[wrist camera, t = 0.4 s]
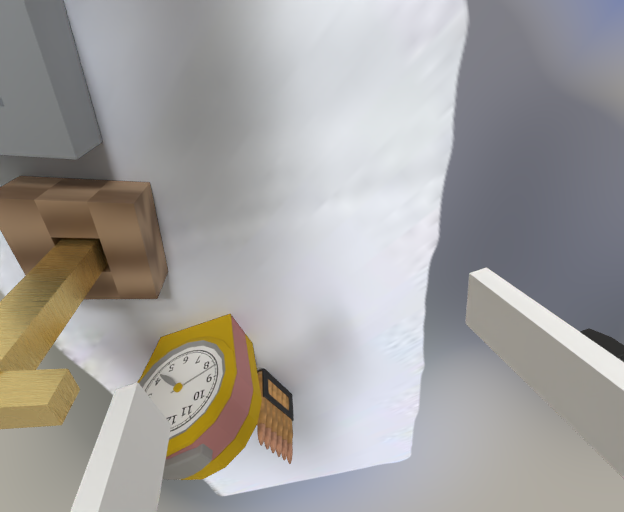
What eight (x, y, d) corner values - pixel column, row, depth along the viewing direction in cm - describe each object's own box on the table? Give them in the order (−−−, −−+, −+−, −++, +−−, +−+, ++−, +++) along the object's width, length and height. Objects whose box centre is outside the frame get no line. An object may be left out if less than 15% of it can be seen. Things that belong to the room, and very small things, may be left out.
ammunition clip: (254, 371, 54) (252, 445, 44) (263, 367, 54) (263, 441, 44) (283, 397, 60) (287, 467, 51) (292, 394, 60) (297, 463, 50)
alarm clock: (238, 306, 44) (226, 443, 30) (262, 339, 49) (261, 471, 35) (147, 337, 46) (92, 482, 31) (179, 367, 51) (143, 504, 36)
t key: (43, 215, 33) (-196, 414, 16) (152, 218, 35) (44, 401, 18) (54, 240, 35) (-150, 442, 18) (157, 242, 37) (63, 428, 20)
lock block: (19, 175, 30) (-18, 197, 26) (149, 182, 32) (133, 203, 28) (63, 270, 37) (39, 299, 33) (168, 271, 39) (157, 298, 35)
